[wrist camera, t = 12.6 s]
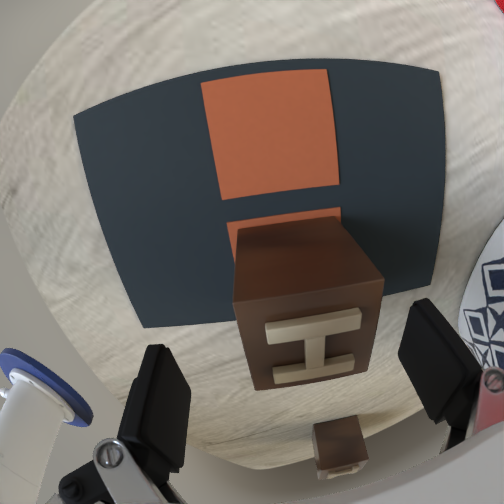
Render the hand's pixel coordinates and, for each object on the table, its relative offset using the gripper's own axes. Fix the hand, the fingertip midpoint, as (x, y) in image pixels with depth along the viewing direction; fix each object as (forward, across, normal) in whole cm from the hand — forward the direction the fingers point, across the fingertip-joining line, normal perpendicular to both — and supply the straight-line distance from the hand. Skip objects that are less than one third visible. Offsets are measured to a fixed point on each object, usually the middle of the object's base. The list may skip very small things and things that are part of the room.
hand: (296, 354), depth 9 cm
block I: (+7, -5, +23) cm, 25 cm away
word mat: (+6, -1, -4) cm, 8 cm away
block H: (+6, -1, 0) cm, 6 cm away
